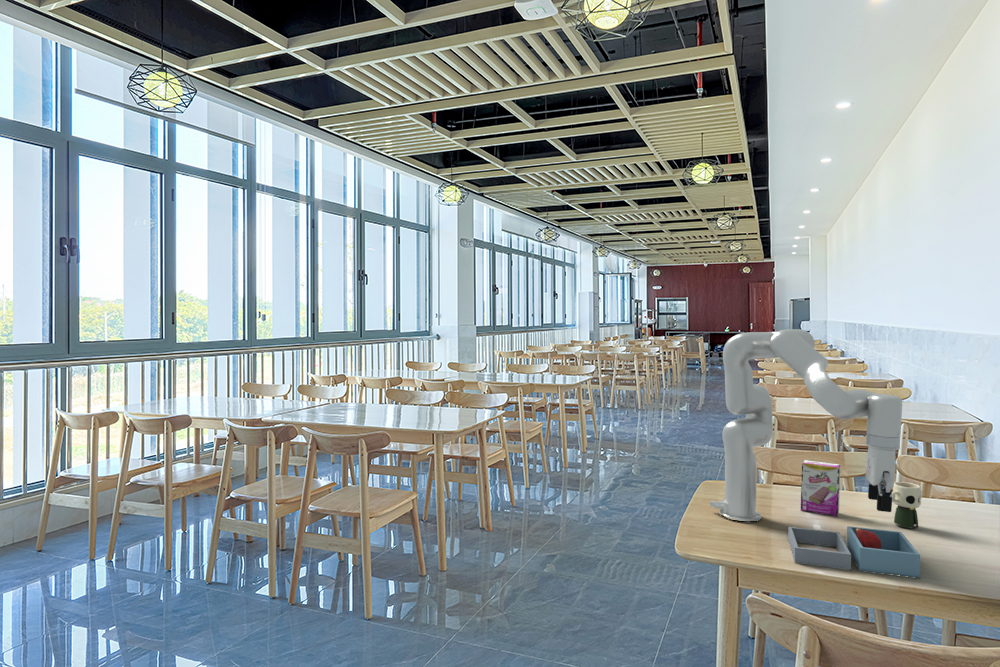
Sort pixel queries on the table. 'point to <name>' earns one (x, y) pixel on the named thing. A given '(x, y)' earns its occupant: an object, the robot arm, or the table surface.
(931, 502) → the table surface
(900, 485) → the character mug
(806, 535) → the grey crate
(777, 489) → the table surface
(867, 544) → the onion
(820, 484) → the candy bar box
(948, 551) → the table surface
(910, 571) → the blue bin
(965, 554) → the table surface
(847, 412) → the robot arm
